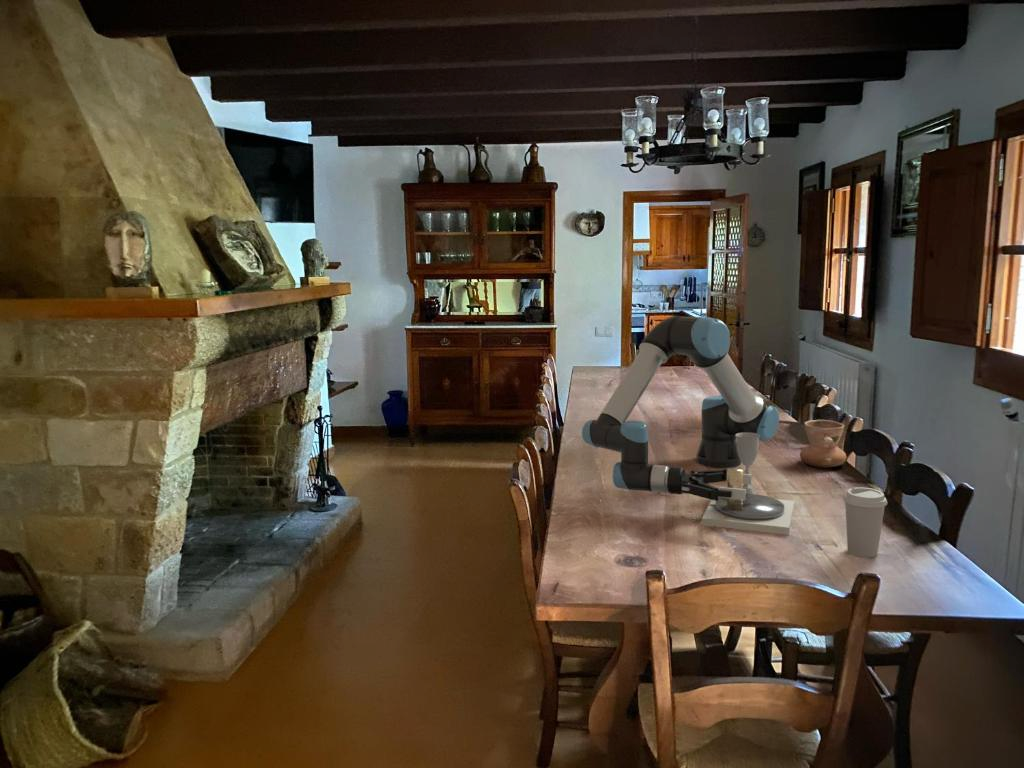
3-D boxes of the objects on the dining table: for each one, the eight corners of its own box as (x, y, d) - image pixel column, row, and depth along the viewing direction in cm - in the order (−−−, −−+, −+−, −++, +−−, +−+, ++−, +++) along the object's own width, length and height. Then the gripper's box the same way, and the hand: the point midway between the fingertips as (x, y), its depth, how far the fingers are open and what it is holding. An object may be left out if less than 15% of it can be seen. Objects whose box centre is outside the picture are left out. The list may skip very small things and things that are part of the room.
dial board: (714, 499, 221) (714, 492, 221) (794, 507, 213) (794, 499, 212) (701, 525, 202) (701, 517, 201) (788, 535, 193) (789, 526, 192)
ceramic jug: (850, 472, 243) (853, 429, 241) (803, 471, 246) (804, 429, 244) (840, 457, 260) (841, 417, 258) (795, 456, 264) (797, 417, 261)
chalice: (742, 498, 222) (743, 438, 219) (729, 491, 228) (730, 433, 225) (763, 495, 224) (765, 436, 221) (750, 488, 230) (752, 431, 227)
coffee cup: (871, 543, 185) (875, 485, 183) (892, 559, 176) (896, 498, 173) (833, 545, 185) (836, 487, 182) (852, 561, 176) (855, 499, 173)
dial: (701, 506, 209) (702, 464, 207) (745, 493, 219) (746, 453, 217) (753, 524, 194) (754, 479, 192) (798, 510, 204) (799, 466, 202)
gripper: (677, 479, 221) (753, 486, 212) (658, 506, 198) (742, 515, 190) (677, 455, 220) (753, 461, 211) (658, 479, 197) (742, 487, 189)
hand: (748, 486), depth 201 cm, fingers open, 13 cm apart
